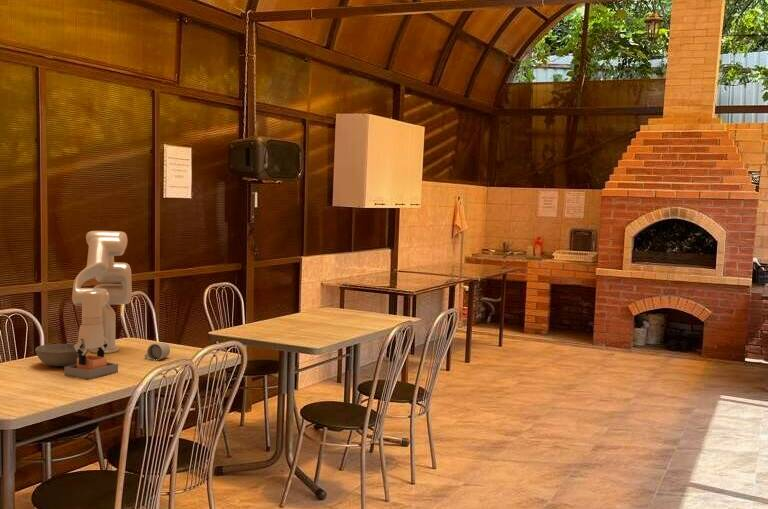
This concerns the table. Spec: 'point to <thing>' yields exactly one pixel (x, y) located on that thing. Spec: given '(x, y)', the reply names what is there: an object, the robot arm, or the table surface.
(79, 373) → the tray
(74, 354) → the bowl
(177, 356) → the table surface
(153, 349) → the ceramic mug
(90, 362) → the crate small
